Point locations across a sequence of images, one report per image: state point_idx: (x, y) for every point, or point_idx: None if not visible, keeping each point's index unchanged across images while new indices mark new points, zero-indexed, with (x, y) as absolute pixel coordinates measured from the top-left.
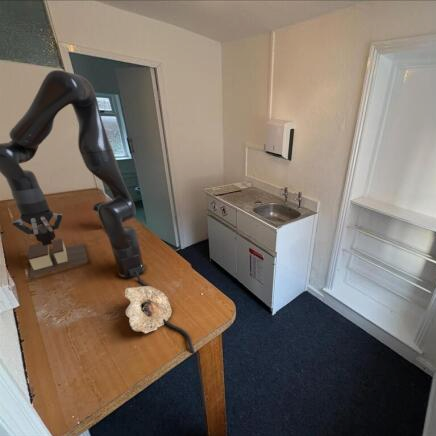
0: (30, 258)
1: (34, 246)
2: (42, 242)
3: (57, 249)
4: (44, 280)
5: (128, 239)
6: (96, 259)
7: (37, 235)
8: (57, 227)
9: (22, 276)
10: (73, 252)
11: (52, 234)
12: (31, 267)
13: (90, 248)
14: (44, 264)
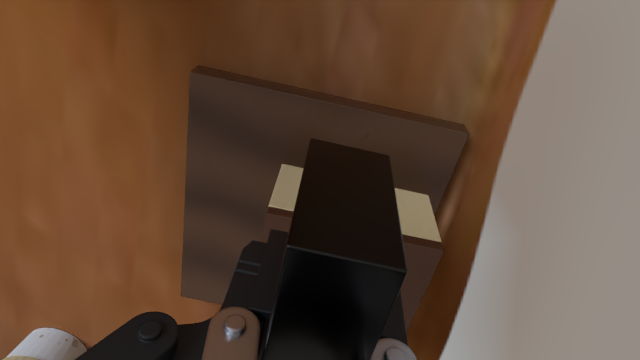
0: (434, 244)
1: None
2: (388, 178)
3: None
4: (425, 70)
5: None
6: (155, 88)
7: (385, 329)
8: (136, 328)
9: (472, 197)
10: (237, 235)
11: (252, 278)
12: None
13: (166, 233)
14: None
